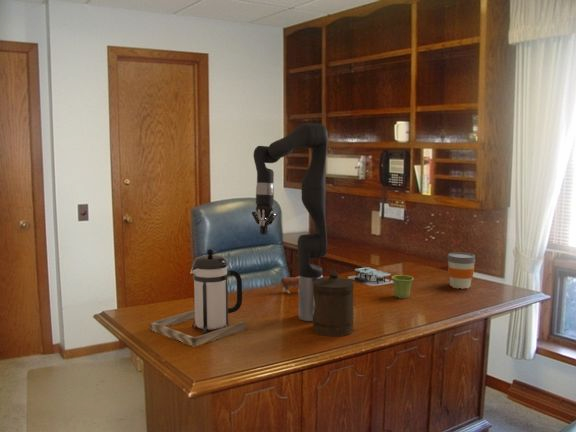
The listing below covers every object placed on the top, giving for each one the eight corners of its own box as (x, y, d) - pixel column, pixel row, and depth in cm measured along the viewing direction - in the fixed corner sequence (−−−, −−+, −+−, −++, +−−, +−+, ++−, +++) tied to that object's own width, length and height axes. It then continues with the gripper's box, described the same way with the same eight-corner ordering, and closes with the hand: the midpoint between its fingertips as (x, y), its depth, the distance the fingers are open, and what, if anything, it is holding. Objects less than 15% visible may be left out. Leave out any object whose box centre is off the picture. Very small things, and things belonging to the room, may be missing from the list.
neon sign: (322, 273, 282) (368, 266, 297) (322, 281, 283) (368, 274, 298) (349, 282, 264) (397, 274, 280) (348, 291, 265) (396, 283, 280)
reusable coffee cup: (440, 284, 276) (442, 253, 274) (461, 281, 282) (462, 251, 279) (458, 290, 265) (460, 259, 263) (479, 287, 270) (481, 256, 268)
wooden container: (328, 320, 223) (328, 265, 220) (360, 329, 214) (362, 271, 211) (304, 330, 212) (305, 272, 209) (338, 340, 202) (339, 279, 199)
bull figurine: (310, 294, 260) (310, 276, 258) (280, 293, 260) (280, 276, 259) (310, 291, 264) (310, 274, 263) (281, 291, 264) (281, 273, 263)
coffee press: (224, 338, 204) (223, 255, 200) (183, 333, 209) (181, 252, 205) (243, 322, 220) (242, 245, 216) (205, 318, 225) (203, 243, 221)
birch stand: (246, 329, 213) (245, 321, 212) (194, 347, 195) (193, 339, 195) (201, 315, 230) (201, 307, 229) (150, 330, 212) (150, 322, 212)
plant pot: (411, 294, 260) (412, 275, 259) (414, 300, 251) (414, 280, 249) (390, 293, 261) (391, 274, 260) (392, 299, 252) (392, 280, 250)
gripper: (247, 193, 245) (246, 233, 246) (270, 194, 236) (269, 236, 237) (259, 193, 251) (258, 233, 252) (282, 194, 242) (281, 235, 243)
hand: (263, 234), depth 244 cm, fingers closed
